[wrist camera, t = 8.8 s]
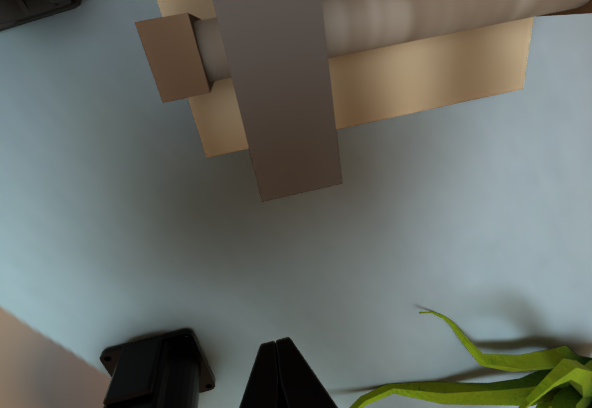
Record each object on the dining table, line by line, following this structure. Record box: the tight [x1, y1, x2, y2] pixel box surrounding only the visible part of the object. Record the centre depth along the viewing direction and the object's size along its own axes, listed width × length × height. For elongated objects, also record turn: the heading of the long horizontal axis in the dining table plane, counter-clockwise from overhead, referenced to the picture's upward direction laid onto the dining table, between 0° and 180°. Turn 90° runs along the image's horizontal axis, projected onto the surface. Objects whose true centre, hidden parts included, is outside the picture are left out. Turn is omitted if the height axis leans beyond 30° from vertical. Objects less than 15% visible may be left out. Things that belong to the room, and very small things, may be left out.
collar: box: [212, 0, 342, 202], centre depth 12 cm, size 3×10×5 cm, turn 10°
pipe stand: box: [135, 0, 592, 158], centre depth 14 cm, size 18×10×6 cm, turn 100°
